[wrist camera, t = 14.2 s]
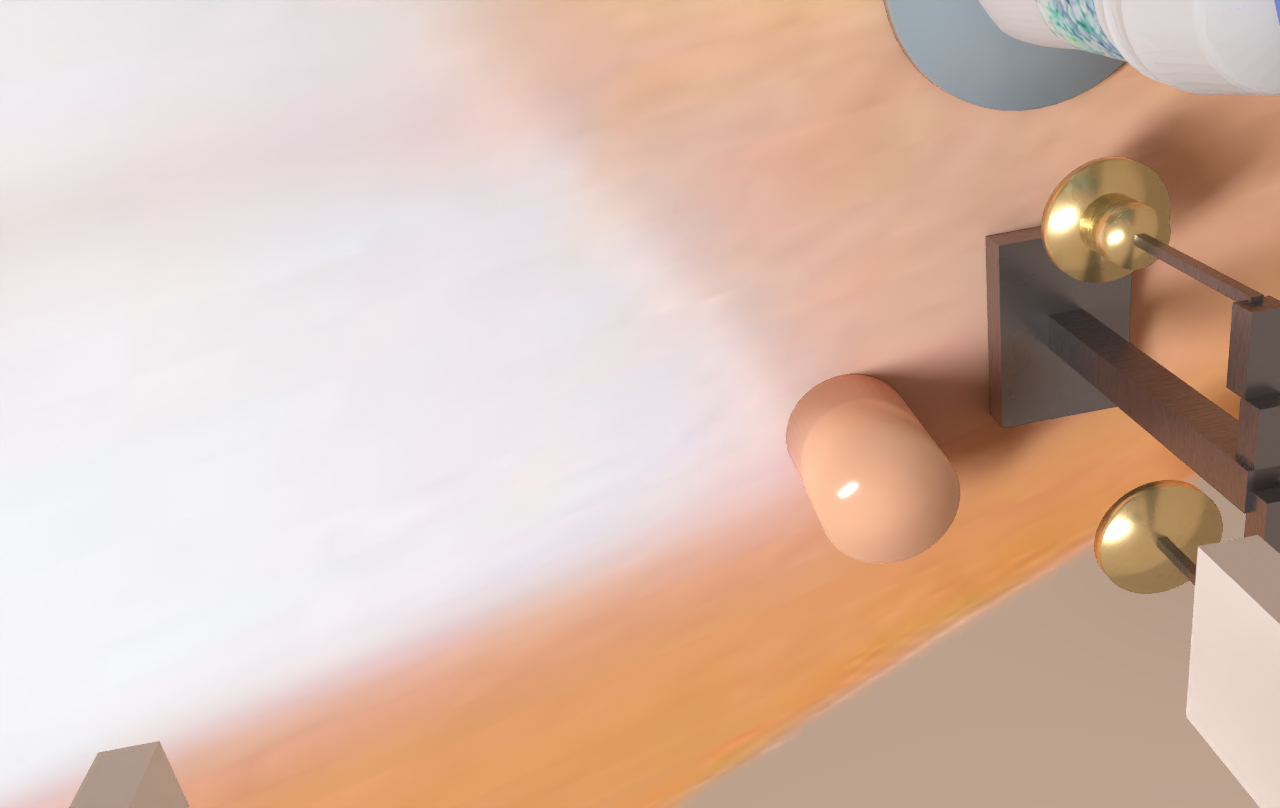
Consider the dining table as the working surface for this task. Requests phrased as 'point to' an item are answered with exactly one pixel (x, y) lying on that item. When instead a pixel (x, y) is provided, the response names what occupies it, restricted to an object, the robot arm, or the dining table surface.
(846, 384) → the peach rounded capsule
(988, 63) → the dish
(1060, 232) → the balance
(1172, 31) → the bottle
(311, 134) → the dining table surface
